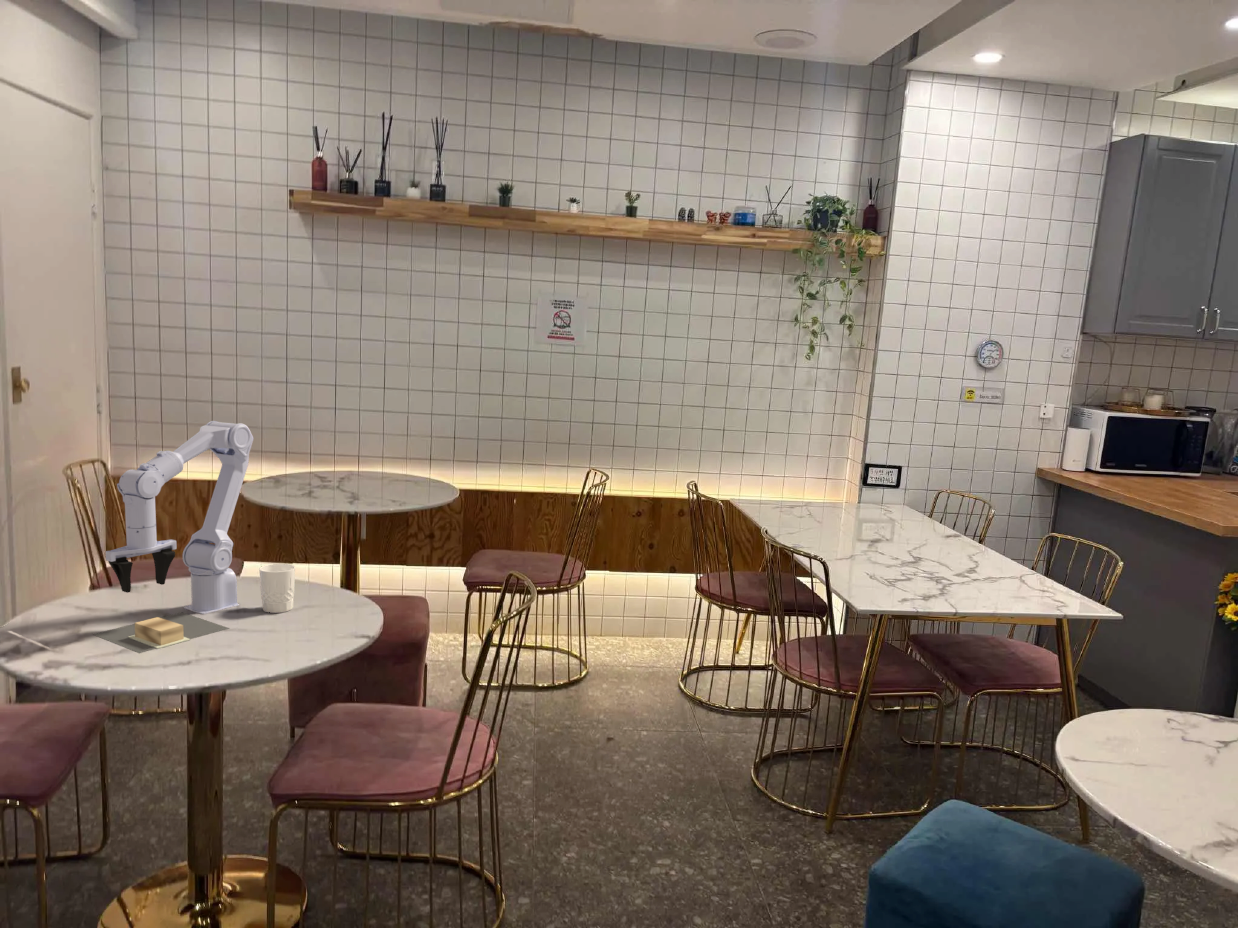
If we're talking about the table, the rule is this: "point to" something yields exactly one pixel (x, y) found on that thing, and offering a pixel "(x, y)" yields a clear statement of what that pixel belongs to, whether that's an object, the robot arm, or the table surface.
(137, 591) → the table surface
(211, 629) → the rubber mat
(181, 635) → the oak block
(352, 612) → the table surface
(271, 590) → the white cup
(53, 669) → the table surface
